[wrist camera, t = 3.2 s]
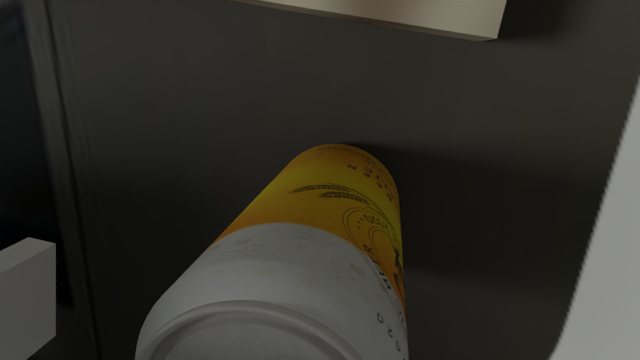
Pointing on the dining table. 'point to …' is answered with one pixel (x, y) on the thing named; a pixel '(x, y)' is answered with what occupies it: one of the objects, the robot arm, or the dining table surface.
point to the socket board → (407, 14)
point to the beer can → (295, 272)
